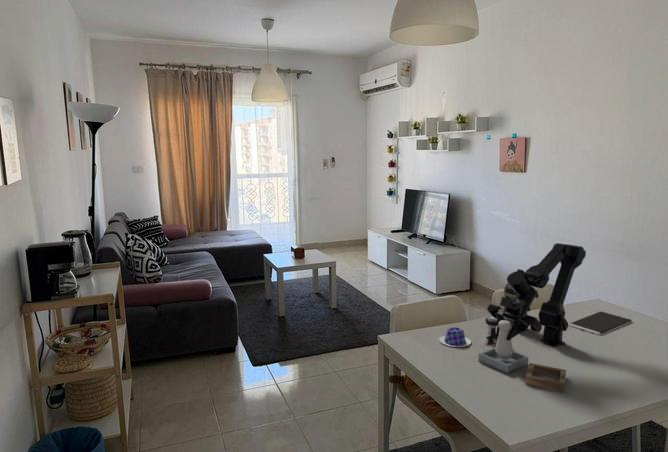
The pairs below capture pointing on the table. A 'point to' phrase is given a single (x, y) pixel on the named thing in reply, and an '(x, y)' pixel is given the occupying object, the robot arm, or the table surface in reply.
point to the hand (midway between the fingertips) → (502, 338)
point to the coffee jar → (509, 294)
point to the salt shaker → (504, 341)
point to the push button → (491, 330)
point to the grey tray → (503, 361)
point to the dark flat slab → (600, 323)
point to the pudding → (455, 338)
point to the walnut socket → (546, 382)
